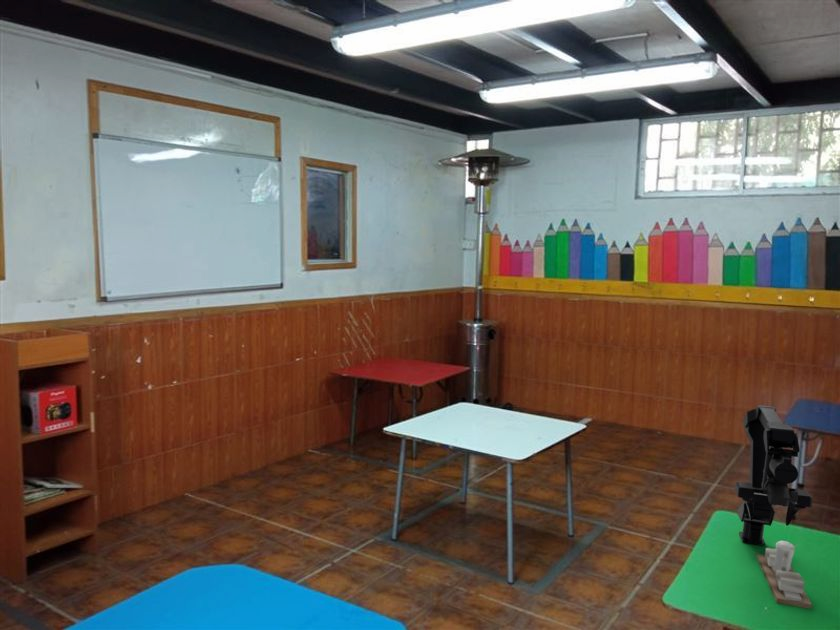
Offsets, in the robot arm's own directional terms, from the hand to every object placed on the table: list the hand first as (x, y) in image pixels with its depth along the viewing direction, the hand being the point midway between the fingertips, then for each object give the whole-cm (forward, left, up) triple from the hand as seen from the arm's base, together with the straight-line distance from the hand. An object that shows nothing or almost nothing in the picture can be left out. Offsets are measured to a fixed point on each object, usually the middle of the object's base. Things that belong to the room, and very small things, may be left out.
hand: (768, 522), depth 191 cm
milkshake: (+8, +3, -11) cm, 14 cm away
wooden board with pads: (+8, +3, -13) cm, 16 cm away
